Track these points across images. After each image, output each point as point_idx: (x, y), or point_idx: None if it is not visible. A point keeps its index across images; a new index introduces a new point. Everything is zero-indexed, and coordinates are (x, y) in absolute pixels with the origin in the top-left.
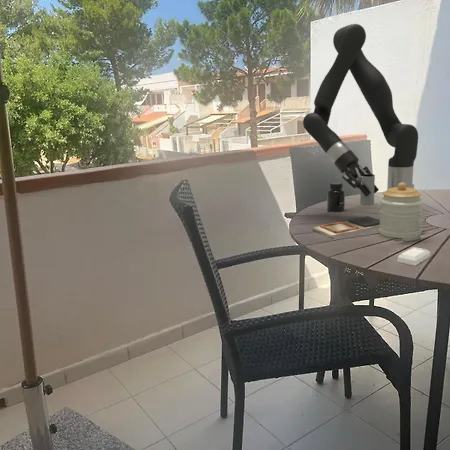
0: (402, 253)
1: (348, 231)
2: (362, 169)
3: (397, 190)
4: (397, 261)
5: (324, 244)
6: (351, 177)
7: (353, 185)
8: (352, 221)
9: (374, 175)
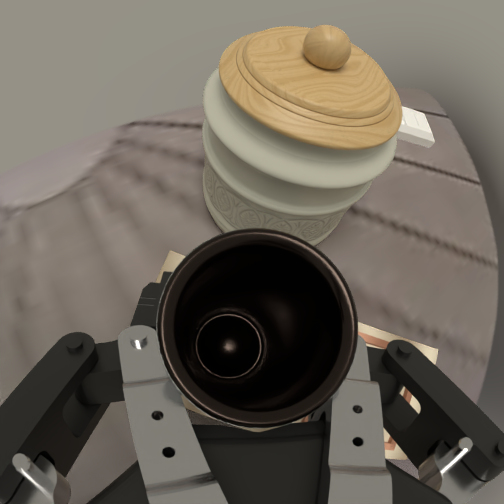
0: (430, 132)
1: (379, 335)
2: (176, 489)
3: (356, 72)
4: (429, 147)
5: (467, 331)
6: (471, 401)
7: (398, 394)
8: None
9: (233, 231)
